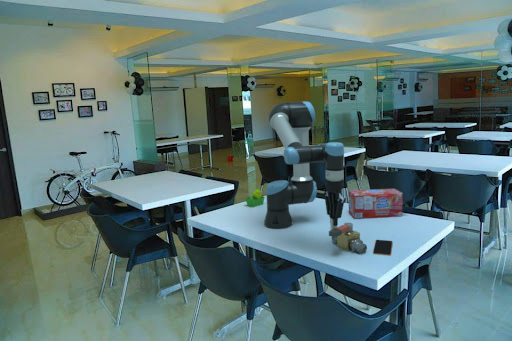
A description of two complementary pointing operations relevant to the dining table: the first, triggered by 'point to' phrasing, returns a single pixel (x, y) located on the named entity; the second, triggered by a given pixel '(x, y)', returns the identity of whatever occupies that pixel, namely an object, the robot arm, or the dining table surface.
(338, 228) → the lever
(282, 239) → the dining table surface
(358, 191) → the box
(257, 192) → the fruit basket
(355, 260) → the dining table surface
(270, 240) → the dining table surface
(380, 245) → the smartphone
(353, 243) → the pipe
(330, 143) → the robot arm
